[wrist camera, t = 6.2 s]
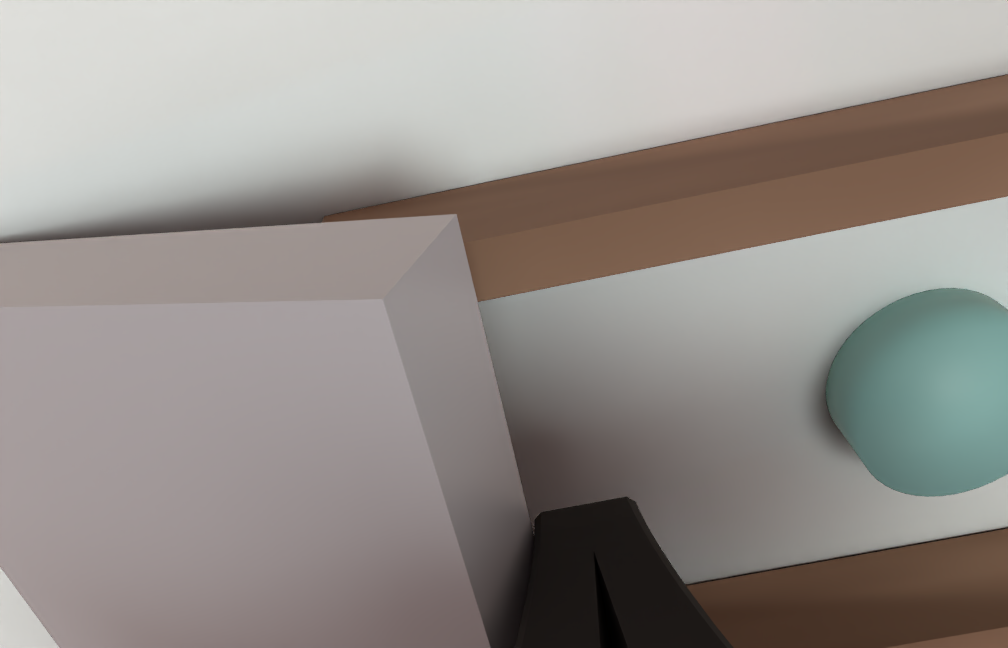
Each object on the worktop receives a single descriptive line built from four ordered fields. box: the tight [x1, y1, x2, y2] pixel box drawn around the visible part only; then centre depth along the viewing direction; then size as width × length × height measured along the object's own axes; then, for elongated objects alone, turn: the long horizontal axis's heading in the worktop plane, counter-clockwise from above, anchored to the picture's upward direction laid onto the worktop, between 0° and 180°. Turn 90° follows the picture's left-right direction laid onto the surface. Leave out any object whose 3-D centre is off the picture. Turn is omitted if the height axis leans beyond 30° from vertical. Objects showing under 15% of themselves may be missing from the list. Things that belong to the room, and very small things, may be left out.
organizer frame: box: [322, 75, 1008, 648], centre depth 12 cm, size 10×14×2 cm
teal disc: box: [826, 288, 1008, 496], centre depth 12 cm, size 3×3×1 cm
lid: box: [0, 214, 534, 648], centre depth 11 cm, size 11×8×2 cm
